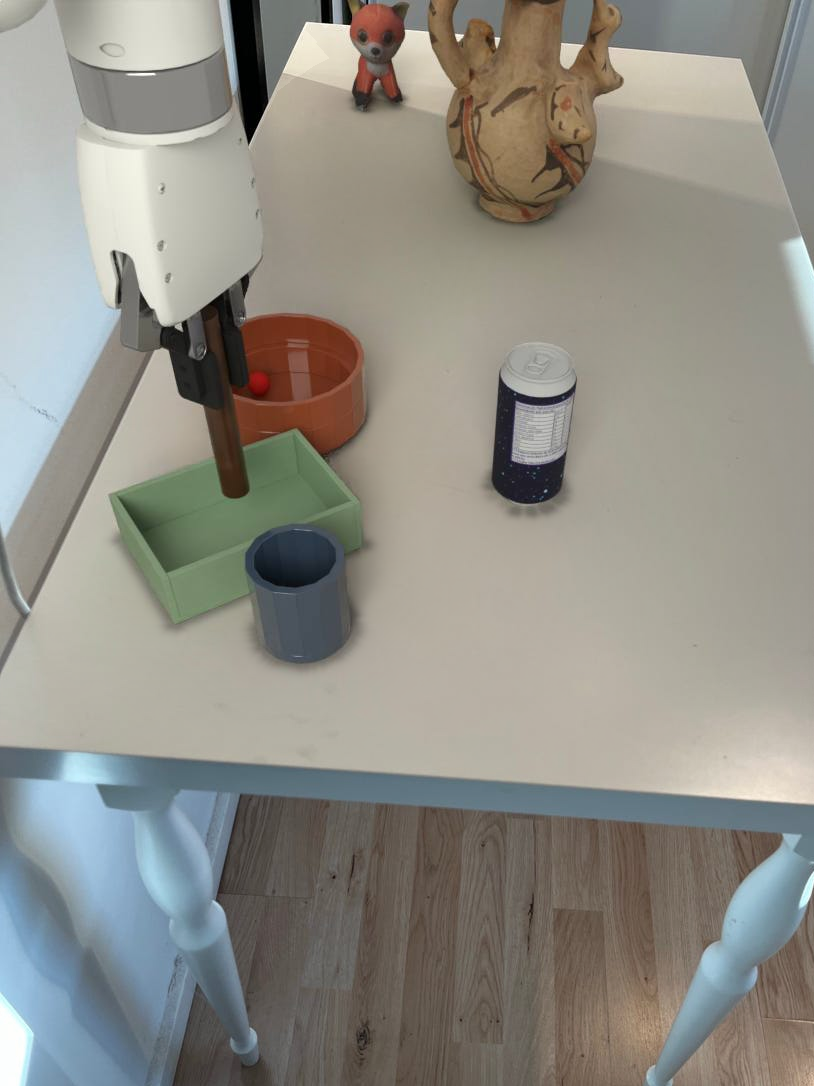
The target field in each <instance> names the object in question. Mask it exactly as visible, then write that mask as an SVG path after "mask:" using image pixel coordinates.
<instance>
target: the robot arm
mask: <svg viewBox="0 0 814 1086" xmlns="http://www.w3.org/2000/svg"><path fill="white" fill-rule="evenodd" d="M48 2H49V0H0V34H2V33H5V32H8V31H11V30H15V29H18V28H20V27H21V26H22V25H24V24H26V23H27V22H29V21H30V20H32V19H33V18H34V17H36V15H37V14H38V13H39V12H41V10H42V9H43V8H44V7H45V6H46V5H47V3H48ZM53 4H54V9H55V12H56V16H57V20H58V23H59V28H60V32H61V35H62V39H63V40H62V41H63V43H64V47H65V49H66V50H65V51H66V55H67V58H68V63H69V66H70V71H71V75H72V78H73V82H74V86H75V90H76V94H77V97H78V102H79V105H80V109H81V112H82V113H81V114H82V117H83V120H84V123H83V124H81V125H80V126H79V127H77V129H75V159H76V173H77V174H76V175H77V183H78V192H79V198H80V204H81V211H82V218H83V222H84V229H85V233H86V238H87V242H88V248H89V252H90V256H91V260H92V261H91V262H92V265H93V270H94V274H95V277H96V282H97V285H98V288H99V292H100V295H101V298H102V301H103V302H104V305H105V306H106V307H107V308H109V309H112V310H116V311H117V310H120V332H119V341H120V344H121V346H123V347H124V348H128V349H131V350H133V351H137V352H140V353H147V352H153V351H158V350H161V349H164V350H167V351H168V354H169V359H170V361H171V362H170V364H171V367H172V371H173V375H174V379H175V384H176V388H177V389H176V390H177V392H178V394H179V396H180V397H181V398H182V399H184V400H187V401H189V402H193V403H194V404H198V405H200V406H206V407H209V408H212V409H214V410H219V409H220V408H221V407H222V406H224V401H225V399H224V394H223V389H222V384H221V379H220V373H219V368H218V363H217V358H216V355H215V353H214V352H212V351H209V350H207V344H206V339H205V334H204V329H203V323H202V318H201V313H200V309H202V308H203V307H204V306H206V305H210V306H213V307H214V308H216V309H217V311H218V316H219V321H220V326H221V332H222V337H223V343H224V348H225V354H226V359H227V365H228V370H229V376H230V381H231V385H234V386H237V387H242V388H243V387H245V386H246V385H247V384H248V383H249V382H250V379H249V372H248V366H247V360H246V354H245V348H244V342H243V336H242V331H241V330H239V328H240V327H242V326H243V325H244V323H245V321H246V319H247V311H246V309H247V308H246V304H245V298H246V296H247V292H248V289H249V286H250V279H251V278H252V276H253V275H254V274H255V271H257V268H258V267H259V265H260V264H261V263H262V260H263V257H264V251H265V233H264V223H263V222H264V221H263V213H262V207H261V199H260V194H259V190H258V189H259V188H258V184H257V178H256V173H255V168H254V163H253V159H252V154H251V151H250V147H249V142H248V138H247V134H246V131H245V128H244V124H243V121H242V116H241V114H240V110H239V107H238V105H237V102H236V99H235V96H234V95H233V93H232V92H233V91H232V86H231V78H230V72H229V63H228V58H227V50H226V44H225V35H224V28H223V22H222V21H223V20H222V15H221V14H222V13H221V7H220V1H219V0H53ZM179 324H181V328H182V330H181V329H178V328H176V326H177V325H179Z"/></svg>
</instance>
